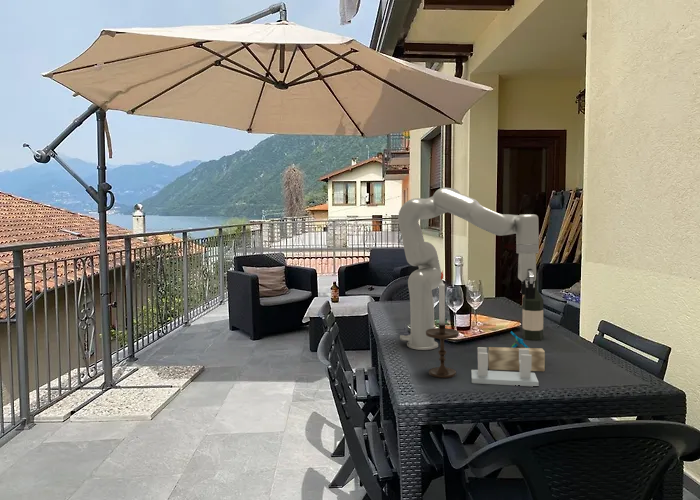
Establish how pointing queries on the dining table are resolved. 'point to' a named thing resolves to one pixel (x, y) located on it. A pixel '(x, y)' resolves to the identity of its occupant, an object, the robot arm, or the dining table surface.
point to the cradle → (503, 376)
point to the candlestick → (442, 337)
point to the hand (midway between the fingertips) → (527, 296)
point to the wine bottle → (532, 316)
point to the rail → (514, 358)
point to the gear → (518, 341)
